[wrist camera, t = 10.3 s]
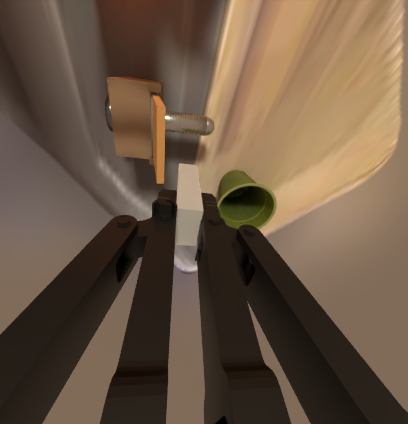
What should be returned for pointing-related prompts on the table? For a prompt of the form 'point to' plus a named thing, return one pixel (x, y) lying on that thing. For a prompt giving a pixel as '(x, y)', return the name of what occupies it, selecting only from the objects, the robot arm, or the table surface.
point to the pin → (176, 122)
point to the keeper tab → (158, 136)
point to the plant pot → (245, 201)
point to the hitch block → (132, 115)
